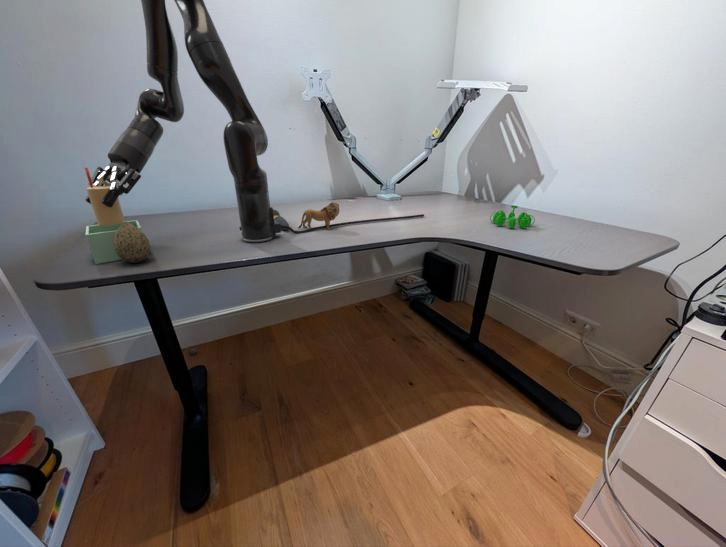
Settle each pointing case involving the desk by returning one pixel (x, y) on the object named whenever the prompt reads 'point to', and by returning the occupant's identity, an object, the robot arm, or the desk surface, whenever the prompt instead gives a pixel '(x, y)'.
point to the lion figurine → (321, 215)
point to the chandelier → (512, 219)
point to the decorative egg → (131, 244)
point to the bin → (104, 241)
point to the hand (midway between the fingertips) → (98, 204)
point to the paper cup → (101, 211)
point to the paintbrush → (280, 219)
